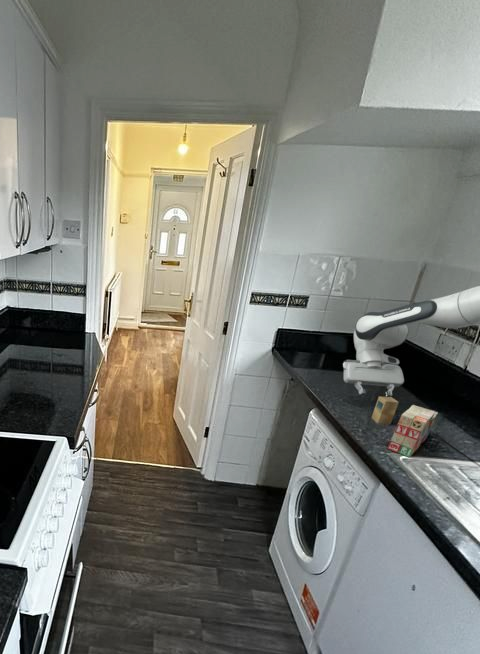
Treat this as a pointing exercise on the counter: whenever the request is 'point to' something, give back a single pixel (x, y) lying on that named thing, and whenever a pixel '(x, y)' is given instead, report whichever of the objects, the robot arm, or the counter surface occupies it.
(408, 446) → the stack of blocks
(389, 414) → the birch block
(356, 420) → the counter surface
